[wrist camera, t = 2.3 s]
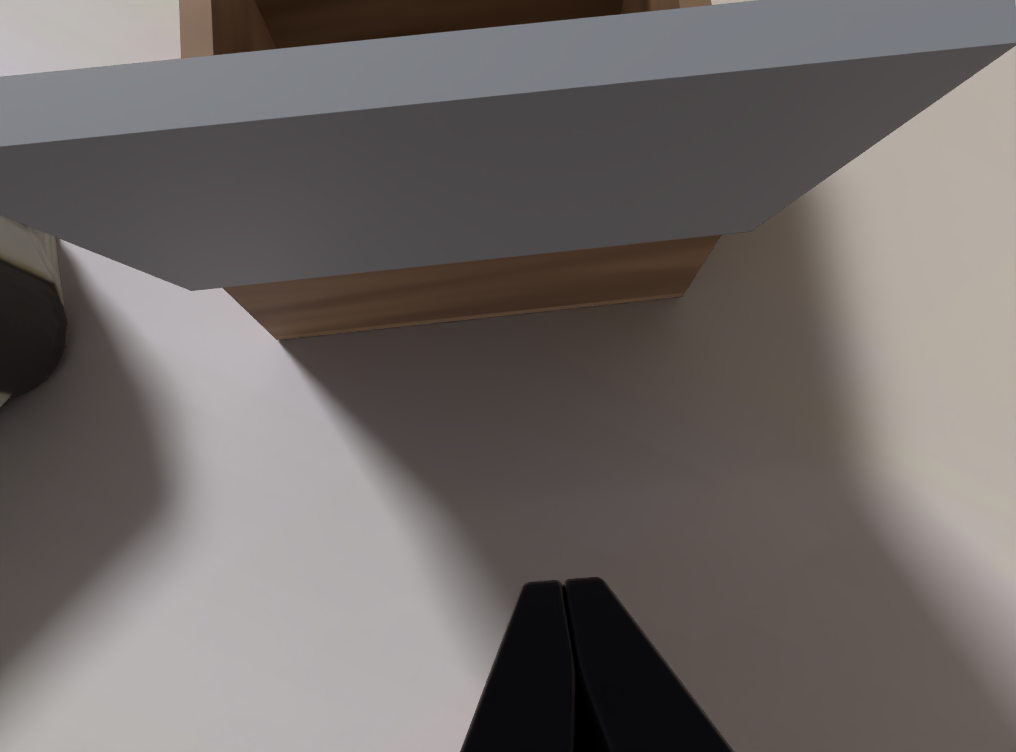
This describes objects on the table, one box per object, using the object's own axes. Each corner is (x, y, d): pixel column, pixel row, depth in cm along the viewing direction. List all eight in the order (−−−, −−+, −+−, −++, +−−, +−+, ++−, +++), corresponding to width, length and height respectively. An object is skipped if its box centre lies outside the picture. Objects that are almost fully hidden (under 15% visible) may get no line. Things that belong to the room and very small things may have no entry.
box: (681, 296, 21) (746, 195, 16) (277, 340, 21) (187, 254, 15) (636, 10, 23) (678, -178, 17) (260, 48, 23) (174, -130, 17)
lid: (746, 198, 16) (750, 231, 16) (188, 257, 15) (191, 290, 15) (1011, -25, 8) (1019, 42, 8) (-144, 90, 7) (-138, 160, 7)
